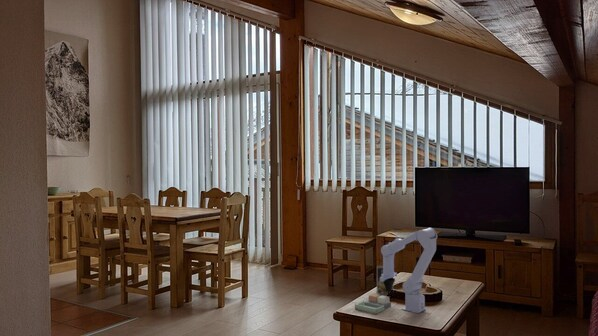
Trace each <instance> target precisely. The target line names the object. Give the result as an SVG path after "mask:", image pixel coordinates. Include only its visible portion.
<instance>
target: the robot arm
mask: <svg viewBox="0 0 598 336" xmlns="http://www.w3.org/2000/svg"><path fill="white" fill-rule="evenodd" d="M437 239H438V234H437V231H436V230H435V229H434V228H432V227H427V228H424V229H419V230H417V231H413V232H412V233H411V234H409V235H407V236H405V237H404V238H395V239H394V240H393V241H392V242H391V241H389V242H388V244H385V245H383V246H382V247H381V248H380V253H381V255H382V266H383V274H381V275H382V276H381V277H380V281H382V282H383V283H384V285H385V288H386V292H389V293H390V292H391V290H392V286H393V287H394V283H395V281H396V278H395V277H398V272H395V254H396V253H398V252H399V251H401V250H404V249H405V248H406V245H407V244H410V243H411V242H414V241H416V242H419V244H420V245H421V246H422V248H423V251H422V253H421V255H420V257H419V259H418V261H417V263H416V266H415V267H414V270H413V271H412V272H411V274H410V275H409V277H407V278H406V280H405V281H404V282H403V283H402V290H403V291H404V294H405V295H404V296H405V298H404V300H405V301H404V303H405V304H404V307H402V308H401V310H403V311H407V312H412V313H415V314H420V313H422V312H424V311H426V302H425V301H426V298H425V295H424V294H422V293H420V291H421V289H422V287H423V281H424V279H423V277H424V275H425V273H426V271H427V269H428V267H429V265H430V264H431V261H432V258H433V257H434V255H435V253H436V251H437Z"/></svg>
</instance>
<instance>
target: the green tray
mask: <svg viewBox="0 0 598 336" xmlns="http://www.w3.org/2000/svg"><path fill="white" fill-rule="evenodd" d="M364 302H365V300H362V301H360V302H358V303H355V304H354V309H355V310H357V311H361V312H366V313H369V314H374V315H377V313H378V314H380V313H381V311H382V312H384V311H385V309H384V305H383V306H381V307H379V308H376V307H371V306H367V305H364ZM379 312H380V313H379Z"/></svg>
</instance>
